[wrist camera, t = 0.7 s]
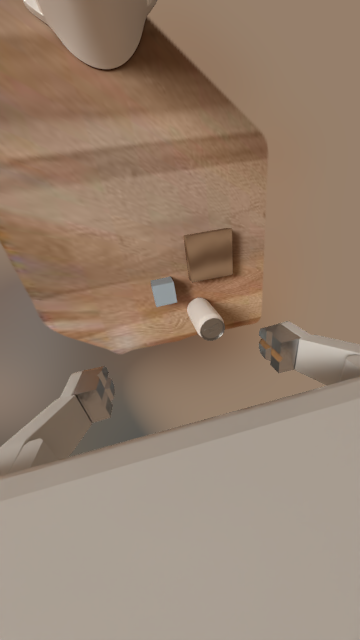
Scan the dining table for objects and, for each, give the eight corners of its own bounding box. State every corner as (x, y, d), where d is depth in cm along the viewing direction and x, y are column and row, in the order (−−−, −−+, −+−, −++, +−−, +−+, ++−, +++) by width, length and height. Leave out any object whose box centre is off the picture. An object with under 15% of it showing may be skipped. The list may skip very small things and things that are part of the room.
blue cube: (150, 280, 46) (151, 286, 42) (170, 276, 47) (173, 282, 42) (155, 299, 49) (156, 307, 44) (174, 295, 49) (177, 302, 45)
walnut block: (183, 235, 43) (186, 236, 40) (224, 228, 44) (231, 228, 41) (188, 278, 48) (192, 282, 45) (226, 270, 49) (232, 274, 45)
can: (183, 303, 51) (194, 324, 40) (205, 293, 50) (222, 311, 40) (191, 322, 54) (203, 346, 43) (212, 313, 53) (229, 335, 43)
